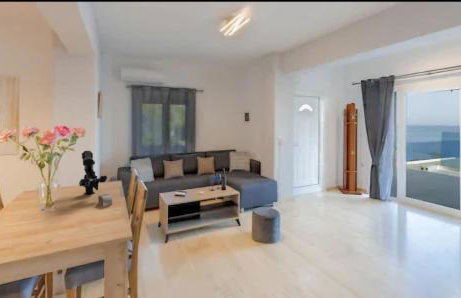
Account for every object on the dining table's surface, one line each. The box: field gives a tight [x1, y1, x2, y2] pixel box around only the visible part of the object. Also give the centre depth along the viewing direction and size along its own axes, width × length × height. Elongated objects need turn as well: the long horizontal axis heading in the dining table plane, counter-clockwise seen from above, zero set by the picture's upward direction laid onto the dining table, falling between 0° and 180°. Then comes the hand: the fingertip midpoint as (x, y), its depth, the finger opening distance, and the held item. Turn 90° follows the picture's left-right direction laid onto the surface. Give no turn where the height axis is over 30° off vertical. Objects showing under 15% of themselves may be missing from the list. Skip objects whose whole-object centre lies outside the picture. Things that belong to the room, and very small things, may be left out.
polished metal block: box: [97, 193, 113, 207], centre depth 188 cm, size 6×6×8 cm
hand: (97, 189), depth 195 cm, fingers closed
